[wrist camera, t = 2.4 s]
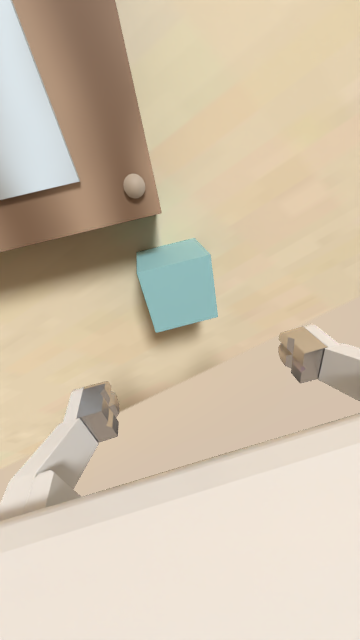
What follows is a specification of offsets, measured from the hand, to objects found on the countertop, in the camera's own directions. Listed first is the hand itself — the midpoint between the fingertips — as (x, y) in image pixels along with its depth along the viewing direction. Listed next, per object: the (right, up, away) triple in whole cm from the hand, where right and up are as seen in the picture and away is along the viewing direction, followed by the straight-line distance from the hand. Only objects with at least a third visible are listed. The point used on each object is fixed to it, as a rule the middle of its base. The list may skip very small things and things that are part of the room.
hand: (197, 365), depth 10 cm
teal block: (-2, +6, +10) cm, 12 cm away
